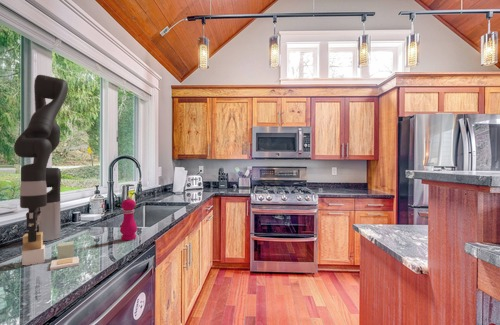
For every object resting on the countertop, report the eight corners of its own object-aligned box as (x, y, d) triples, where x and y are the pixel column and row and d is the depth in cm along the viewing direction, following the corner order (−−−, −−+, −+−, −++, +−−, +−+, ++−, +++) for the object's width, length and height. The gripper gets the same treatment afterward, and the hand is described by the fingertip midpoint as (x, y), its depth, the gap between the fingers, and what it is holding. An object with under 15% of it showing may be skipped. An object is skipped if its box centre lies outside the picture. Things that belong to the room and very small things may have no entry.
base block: (21, 266, 94) (21, 251, 94) (24, 261, 99) (24, 247, 99) (43, 262, 97) (43, 248, 97) (45, 258, 102) (44, 244, 102)
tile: (50, 270, 90) (50, 267, 90) (51, 262, 97) (51, 260, 97) (78, 265, 94) (78, 262, 94) (78, 258, 101) (78, 255, 101)
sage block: (57, 260, 100) (57, 246, 100) (58, 256, 104) (58, 243, 104) (73, 257, 102) (73, 244, 102) (73, 253, 106) (73, 241, 106)
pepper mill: (140, 237, 129) (140, 195, 129) (129, 241, 122) (128, 197, 123) (128, 236, 132) (128, 194, 132) (116, 240, 125) (116, 196, 125)
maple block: (22, 251, 94) (22, 236, 94) (25, 247, 99) (25, 233, 99) (41, 248, 97) (41, 234, 97) (42, 245, 101) (42, 231, 101)
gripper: (44, 194, 94) (45, 242, 94) (48, 191, 106) (48, 233, 106) (16, 196, 90) (16, 245, 90) (23, 192, 102) (23, 236, 102)
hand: (33, 238), depth 98 cm, fingers open, 8 cm apart
